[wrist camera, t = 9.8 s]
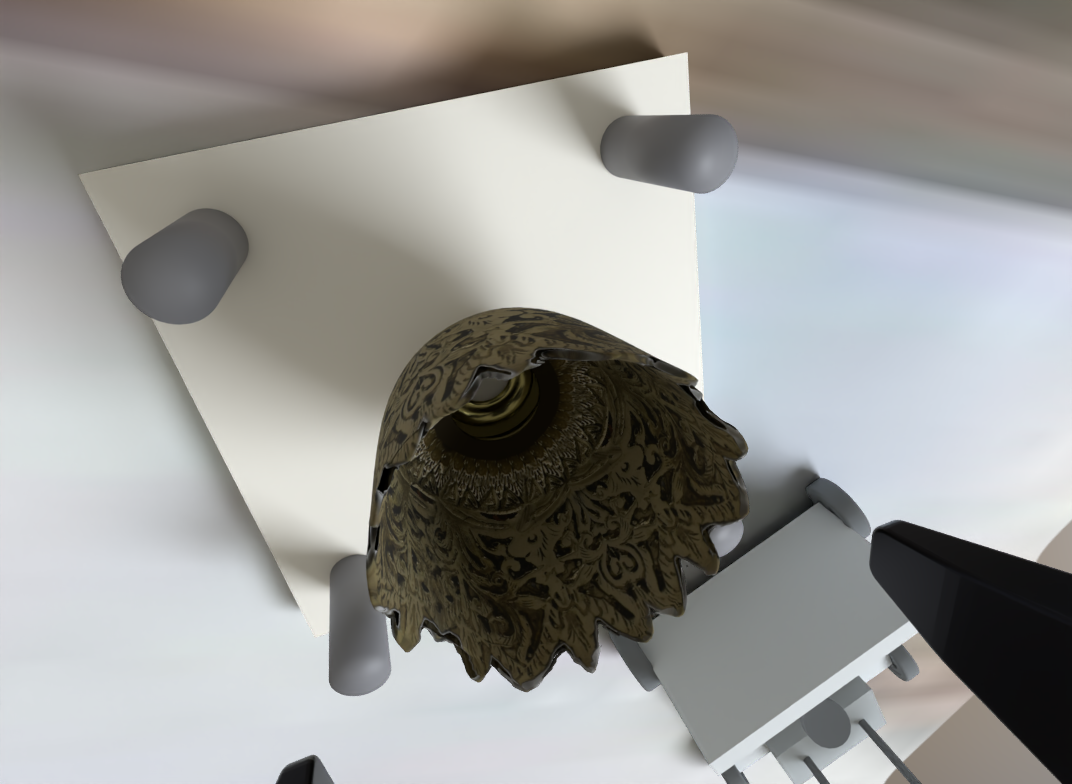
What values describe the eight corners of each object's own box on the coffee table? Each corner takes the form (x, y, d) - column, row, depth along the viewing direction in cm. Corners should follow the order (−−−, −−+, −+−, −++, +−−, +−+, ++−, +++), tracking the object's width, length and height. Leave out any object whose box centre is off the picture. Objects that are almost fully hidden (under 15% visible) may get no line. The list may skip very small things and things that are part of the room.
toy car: (1065, 834, 27) (858, 985, 26) (888, 662, 35) (730, 775, 35) (1041, 631, 18) (728, 857, 18) (811, 465, 26) (598, 616, 26)
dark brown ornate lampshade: (294, 379, 16) (264, 582, 9) (492, 192, 16) (619, 260, 9) (473, 518, 20) (546, 736, 13) (637, 371, 19) (805, 518, 12)
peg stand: (665, 56, 17) (787, 33, 12) (692, 478, 24) (776, 563, 19) (97, 170, 14) (-16, 194, 9) (316, 612, 21) (310, 748, 16)
